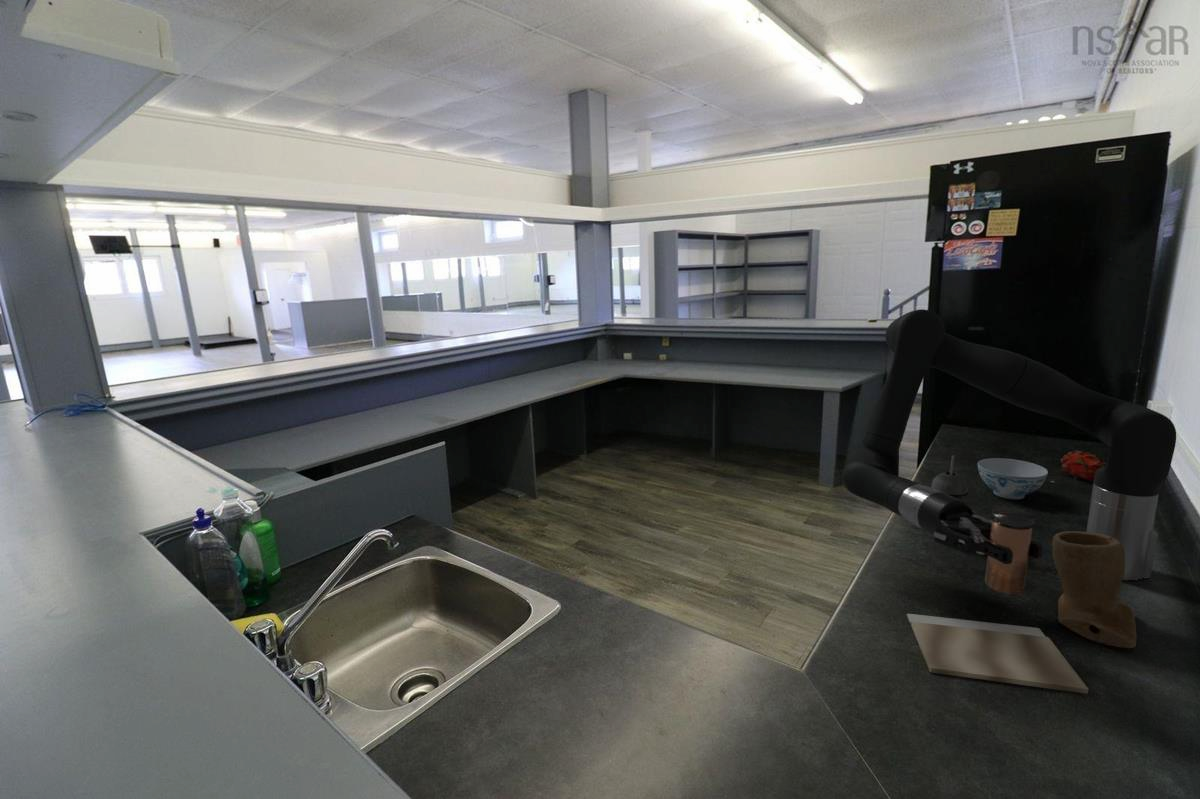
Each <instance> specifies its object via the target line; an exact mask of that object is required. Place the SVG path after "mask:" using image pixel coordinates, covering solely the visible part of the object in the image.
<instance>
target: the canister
mask: <svg viewBox="0 0 1200 799" xmlns="http://www.w3.org/2000/svg"><path fill="white" fill-rule="evenodd" d="M990 517H991V519H990V520H992V524H991V532H990V540H991V541H993V542H995V543H997V544H999V545H1001V546H1003V547H1005V548H1007V549H1009V550H1011V551H1012V552H1013V558H1012V563H1011V564H1004V563H1002V562H1000V561H998V560H996V559H994V558H992V557H990V556H988V555H987V557H986V558H987V559H986V568H985V575H984V583H985V584H986V586H988V588H990V589H992V590H994V591H996V592H999V593H1003V594H1009V595H1019V594H1022V593H1024V591H1025V585H1026V579H1027V578H1026V577H1027V572H1028V571H1027V569H1028V564H1029V563H1028V562H1029V557H1030V556H1029V549H1030V542H1031V540H1032V533H1033V527H1034V526H1035V525H1034V524H1035V519H1036V518H1035V516H1034V515H1033V514H1032V513H1030V512H1027V511H1025V510H1022V509H1018V508H1013V507H1007V506H1006V507H1001V506H1000V507H995V508H992V510H991V516H990Z"/></svg>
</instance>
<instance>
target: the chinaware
mask: <svg viewBox="0 0 1200 799" xmlns="http://www.w3.org/2000/svg"><path fill="white" fill-rule="evenodd" d="M977 470H978V472H979V476H980V478H981V479H982V482H984V484H985V485H986V486H988V488H990V489H991V490H992V491H993V494H994V495H996V496H997V497H1000V498H1002V499H1003V498H1004V499H1008V500H1021V499H1022V500H1023V499H1024V498H1025V496H1026V495H1029V494H1032V493H1033V492H1035V491H1037V490H1038V489H1039V488H1041V487H1042V485H1043V484H1044V482H1045V481H1046V479H1047V477H1048V474H1049V471H1048V469H1047V468H1045V467H1043V466H1042V465H1038V464H1037V463H1033V462H1029V461H1025V460H1019V459H1012V458H999V457H996V458H995V457H993V458H983V459H981V460H979V461H978V462H977Z"/></svg>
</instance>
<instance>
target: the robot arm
mask: <svg viewBox="0 0 1200 799" xmlns="http://www.w3.org/2000/svg"><path fill="white" fill-rule="evenodd" d="M945 331H946V327H945V323H944V322H943V320H942V318H941V317H940V316H939V315H938V314H937V313H935V312H934V311H932V310H929V309H924V308H923V309H915V310H911V311H909V312H906V313H904V314H902V315H901V316H899V317H897V318H896V319H894V320H893V321H892V322H890V324H889V325H888V327H887V328H886V330H885V334H884V338H885V343H886V344H887V346H888V348H889V349H890V350H891V352H893V359H892V362H891V365H890V366H891V367H890V369H889V372H888V376H887V378H886V380H885V383H884V384H883V387H882V389H881V390H880V393H879V395H878V396H877V398H876V400H875V401H874V402H875V403H874V405H873V407H872V409H871V411H870V415H869V417H868V420H867V424H866V428H865V431H864V432H863V437H862V442H861V443H862V444H861V445H862V446H863V448H864V449H866V450H867V451H869V452H870V453H871V455H872V463H870V462H868V461H867V462H866V461H864V460H863V461H862V460H856V461H852V462H850V463H848V464H847V465H845V467H844V468H843V470H842V474H841V478H842V479H841V480H842V484H843V486H844V487H845V489H846V490H847V491H848V492H849V493H851V494H852V495H854V496H856V497H859V498H861V499H864V500H866V501H869V502H871V503H874V504H877V505H879V506H881V507H883V508H886V509H887V510H888V511H890V512H892V513H894V514H896V515H898V516H899V517H901V518H903V519H905V520H907V522H909V523H910V524H911V525H914V526H916V527H918V529H919V528H920V529H921V530H924V531H925V532H927V533H929V534H931V535H933V541H934V542H936V543H937V544H941V545H944V546H946V547H948V548H950V549H953V550H956V551H958V552H961V553H962V554H963V553H964V554H966V555H973V553H975V552H976V553H977V554H979V555H987V557H988V556H990V557H992V558H994V559H996V560H998V561H1000V562H1002V563H1004V564H1011V563H1012V558H1013V552H1012V551H1011V550H1009V549H1007V548H1005V547H1003V546H1001V545H999V544H997V543H995V542H993V541H991V540H990V532H991V524H992V519H989V518H987V517H984V516H983V515H982V516H981V515H978V514H975V513H974V512H973V511H972V508H971V507H970V505H969V504H968V503H967V502H966V501H965V502H964V501H961V500H959V499H957V498H954V497H952V496H950V495H947V494H945V493H943V492H940V491H938V490H936V489H933V488H931V486H926V485H922V484H921V483H918V482H916V481H914V480H912V479H909V478H906V477H904V476H903V477H902V476H899V475H900V474H899V472H900V468H899V467H900V448H901V445H902V441H903V439H904V434H905V432H906V429H907V426H908V423H909V418H910V416H911V413H912V409H913V407H914V403H915V400H916V398H917V394H918V392H919V390H920V388H921V385H922V382H923V380H924V378H925V376H926V373H927V371H928V369H929V367H932V368H934V369H936V370H940V371H942V372H945V373H947V374H949V375H951V376H953V377H955V378H956V379H959V380H961V381H962V382H964V383H966V384H968V385H970V386H973V387H975V388H977V389H978V390H981V391H983V392H985V393H987V394H989V395H992V396H993V397H995V398H998V399H1000V400H1003V401H1005V402H1007V403H1008V404H1012V405H1014V406H1016V407H1019V408H1022V409H1024V410H1027V411H1031V412H1033V413H1037V414H1040V415H1046V416H1047V417H1048V416H1049V417H1053V418H1056V419H1060V420H1062V421H1065V422H1066V423H1068V424H1071V425H1073V426H1074V427H1076V428H1078V429H1080V430H1082V431H1084V432H1086V433H1088V434H1089V435H1091V436H1093V438H1094V437H1095V438H1096V439H1098V440H1099V441H1101V443H1103V444H1104V445H1106V446H1108V447H1109V450H1108V455H1107V459H1106V466H1105V467H1102V468H1099V469H1098V470H1097V471H1096V472H1095V477H1094V479H1093V480H1094V482H1093V485H1092V491H1091V499H1090V505H1089V512H1088V518H1087V527H1086V531H1085V532H1088V533H1098V534H1103V535H1107V536H1110V537H1112V538H1114V539H1116V540H1118V541H1119V542H1120V543H1121V544H1122V546H1123V548H1124V552H1125V574H1124V578H1123V580H1122V581H1128V580H1135V581H1139V580H1138V579H1141V578H1144V579H1146V578H1145V577H1148V578H1150V579H1151V576H1152V571H1153V570H1152V569H1153V565H1154V558H1155V553H1156V548H1157V542H1158V537H1159V534H1158V532H1157V531H1156V530H1154V524H1155V518H1156V510H1157V505H1158V500H1159V495H1160V490H1161V487H1162V485H1163V484H1164V483H1165V481H1166V480H1167V478H1168V476H1169V474H1170V470H1171V466H1172V461H1173V457H1174V454H1175V453H1174V452H1175V449H1176V444H1177V430H1176V427H1175V424H1174V422H1173V421H1172V420H1171V419H1170V418H1169V417H1167V416H1166V415H1165V414H1162V413H1160V412H1158V411H1156V410H1153V409H1151V408H1149V407H1146V406H1144V405H1141V404H1137V403H1134V402H1129V401H1126V400H1123V399H1120V398H1115V397H1112V396H1109V395H1106V394H1103V393H1100V392H1097V391H1095V390H1092V389H1089V388H1088V387H1085V386H1083V385H1081V384H1079V383H1078V382H1075V381H1074V380H1073V379H1071V378H1069V377H1068V376H1067V375H1065V374H1063V373H1061V372H1059V371H1058V370H1056V369H1053V368H1052V367H1050V366H1047V365H1046V364H1043V363H1042V362H1039V361H1036V360H1034V359H1031V358H1030V357H1027V356H1024V355H1022V354H1019V353H1016V352H1014V351H1010V350H1006V349H1003V348H998V347H994V346H990V345H989V346H988V345H984V344H979V343H974V342H970V341H966V340H963V339H961V338H958V337H956V336H954V335H951V334H949V333H948V332H945ZM959 543H962V544H963V545H961V544H959ZM1043 549H1044V548H1043V546H1042V544H1040V543H1038V542H1036V541H1033V540H1032V539H1031V542H1030V549H1029V557H1032V559H1040V558H1042V554H1043ZM1141 580H1142V579H1141Z"/></svg>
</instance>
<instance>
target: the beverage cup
mask: <svg viewBox="0 0 1200 799" xmlns="http://www.w3.org/2000/svg"><path fill="white" fill-rule="evenodd" d="M955 456H956V455H951V462H950V470H949V471H944V472H941V473H939V474H937V476H935V477H934V478H933V479H932V482H931V485H930V487H931V488H933V489H936V490H938V491H940V492H943V493H945V494H947V495H950V496H952V497H954V498H957V499H959V500H961V501H964V502H965V503H966V502H967V501H966V500H967V498H968V495H969V487H968V484H967V482H966V480H965V478H963V476H961V475H960V474H958V473H957V472H954V464H955Z"/></svg>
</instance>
